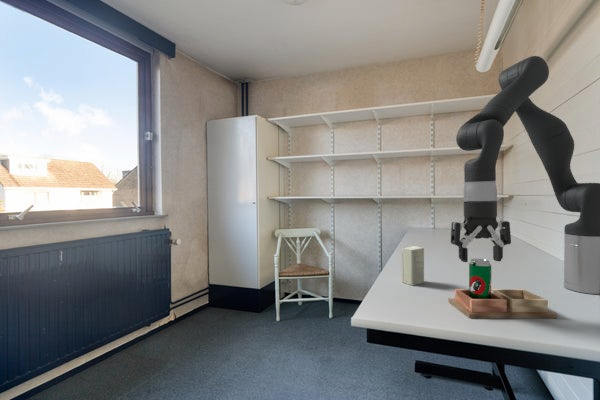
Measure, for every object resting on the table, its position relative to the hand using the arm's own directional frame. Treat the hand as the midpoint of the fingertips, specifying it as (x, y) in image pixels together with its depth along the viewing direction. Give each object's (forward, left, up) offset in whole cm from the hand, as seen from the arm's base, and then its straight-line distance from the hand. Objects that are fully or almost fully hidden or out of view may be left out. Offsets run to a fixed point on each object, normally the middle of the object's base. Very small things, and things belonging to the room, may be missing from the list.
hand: (480, 261), depth 80 cm
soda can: (0, 0, -12) cm, 12 cm away
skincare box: (+9, -24, -13) cm, 29 cm away
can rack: (-5, 0, -13) cm, 14 cm away
